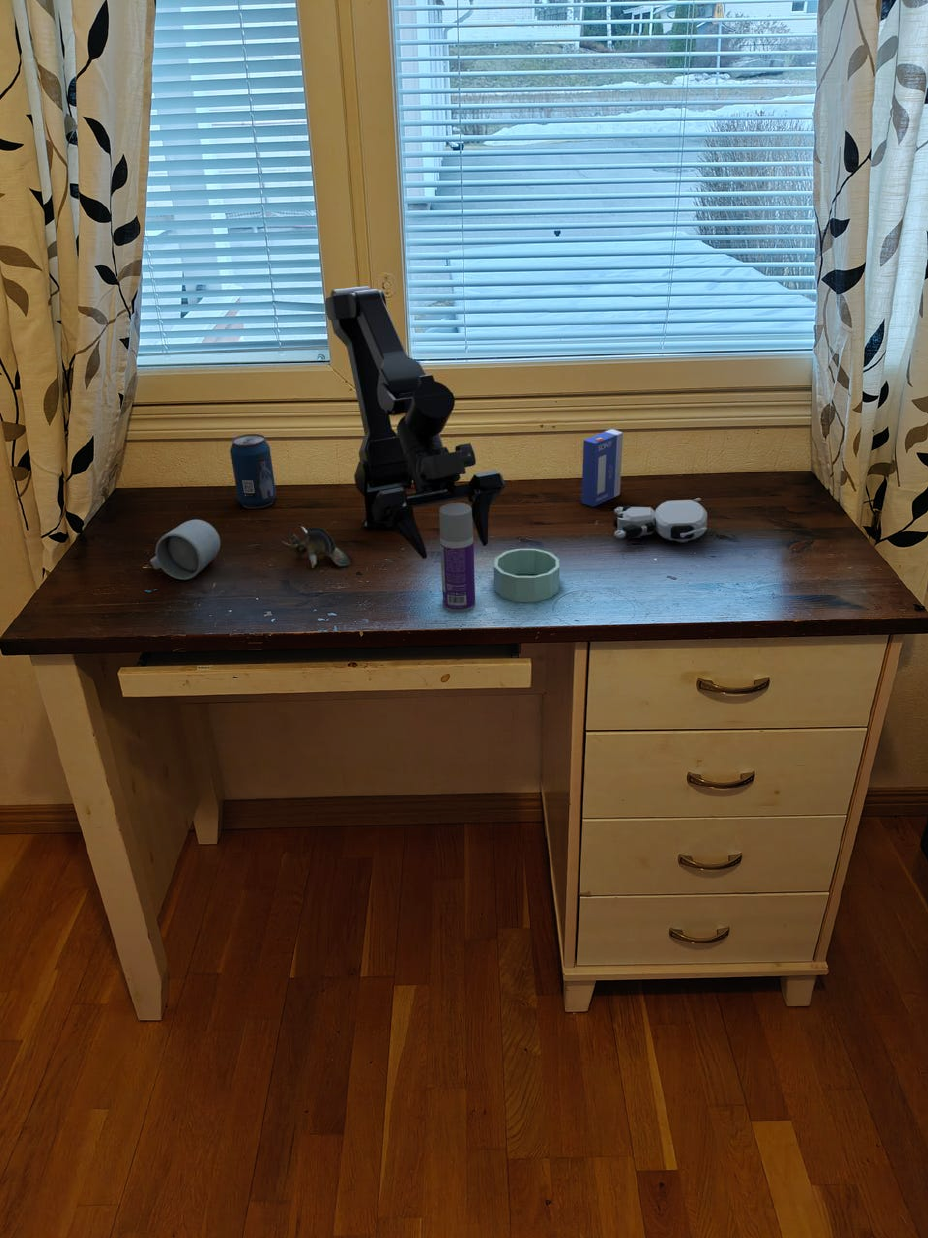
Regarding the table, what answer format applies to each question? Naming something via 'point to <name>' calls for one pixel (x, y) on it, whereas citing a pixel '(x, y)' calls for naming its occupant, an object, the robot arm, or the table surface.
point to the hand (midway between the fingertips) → (455, 551)
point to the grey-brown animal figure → (317, 546)
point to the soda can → (253, 471)
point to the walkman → (601, 467)
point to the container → (457, 557)
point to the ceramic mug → (187, 549)
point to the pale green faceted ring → (526, 586)
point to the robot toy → (662, 520)
